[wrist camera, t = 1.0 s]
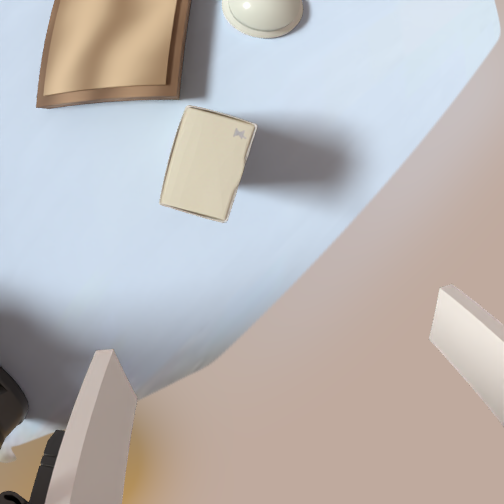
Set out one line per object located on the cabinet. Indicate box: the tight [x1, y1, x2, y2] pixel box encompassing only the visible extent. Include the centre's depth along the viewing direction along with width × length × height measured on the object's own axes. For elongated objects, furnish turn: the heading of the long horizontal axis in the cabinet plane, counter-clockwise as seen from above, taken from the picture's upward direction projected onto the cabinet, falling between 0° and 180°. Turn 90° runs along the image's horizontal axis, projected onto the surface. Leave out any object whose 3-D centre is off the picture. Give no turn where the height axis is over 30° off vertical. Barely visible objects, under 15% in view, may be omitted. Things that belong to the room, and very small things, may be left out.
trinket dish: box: [222, 0, 303, 38], centre depth 22 cm, size 8×8×2 cm
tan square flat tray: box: [36, 0, 191, 109], centre depth 21 cm, size 14×14×3 cm
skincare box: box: [159, 105, 257, 223], centre depth 22 cm, size 6×4×12 cm
